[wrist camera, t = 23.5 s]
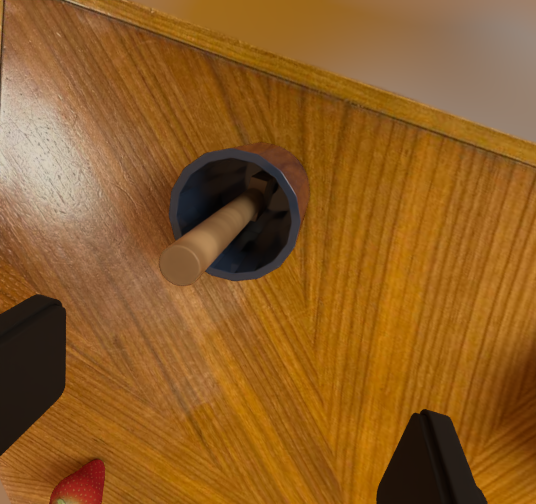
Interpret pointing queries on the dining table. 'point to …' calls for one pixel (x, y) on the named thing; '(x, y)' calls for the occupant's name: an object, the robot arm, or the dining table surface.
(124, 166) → the dining table surface
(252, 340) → the dining table surface
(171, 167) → the dining table surface
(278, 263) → the holder
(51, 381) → the robot arm
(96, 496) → the fruit
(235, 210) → the stirring stick
